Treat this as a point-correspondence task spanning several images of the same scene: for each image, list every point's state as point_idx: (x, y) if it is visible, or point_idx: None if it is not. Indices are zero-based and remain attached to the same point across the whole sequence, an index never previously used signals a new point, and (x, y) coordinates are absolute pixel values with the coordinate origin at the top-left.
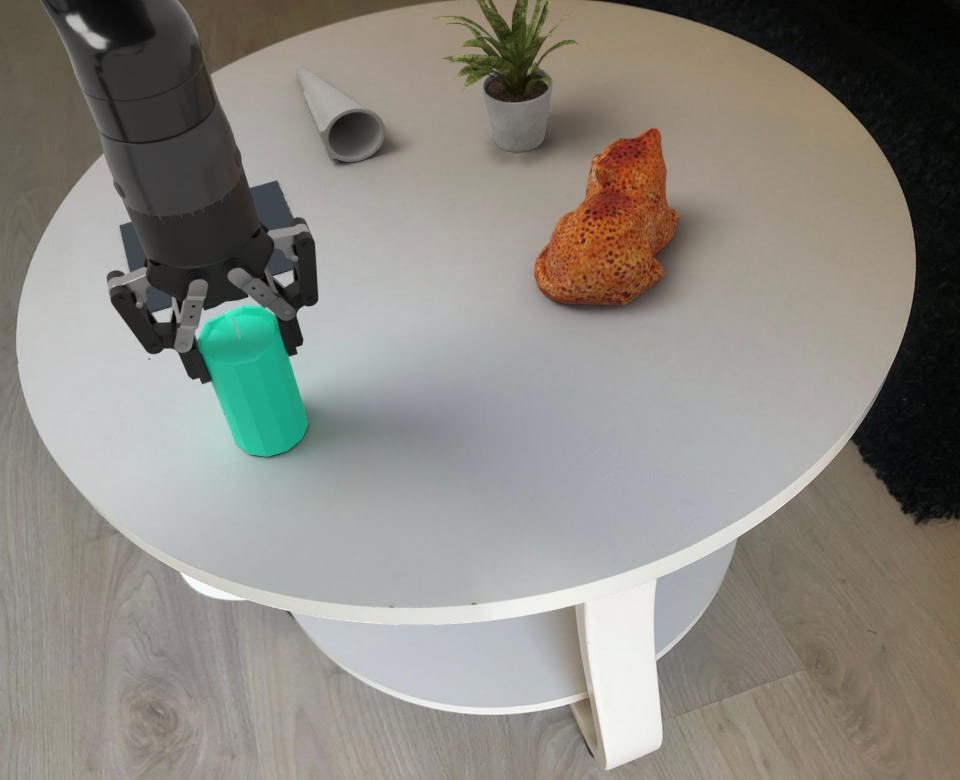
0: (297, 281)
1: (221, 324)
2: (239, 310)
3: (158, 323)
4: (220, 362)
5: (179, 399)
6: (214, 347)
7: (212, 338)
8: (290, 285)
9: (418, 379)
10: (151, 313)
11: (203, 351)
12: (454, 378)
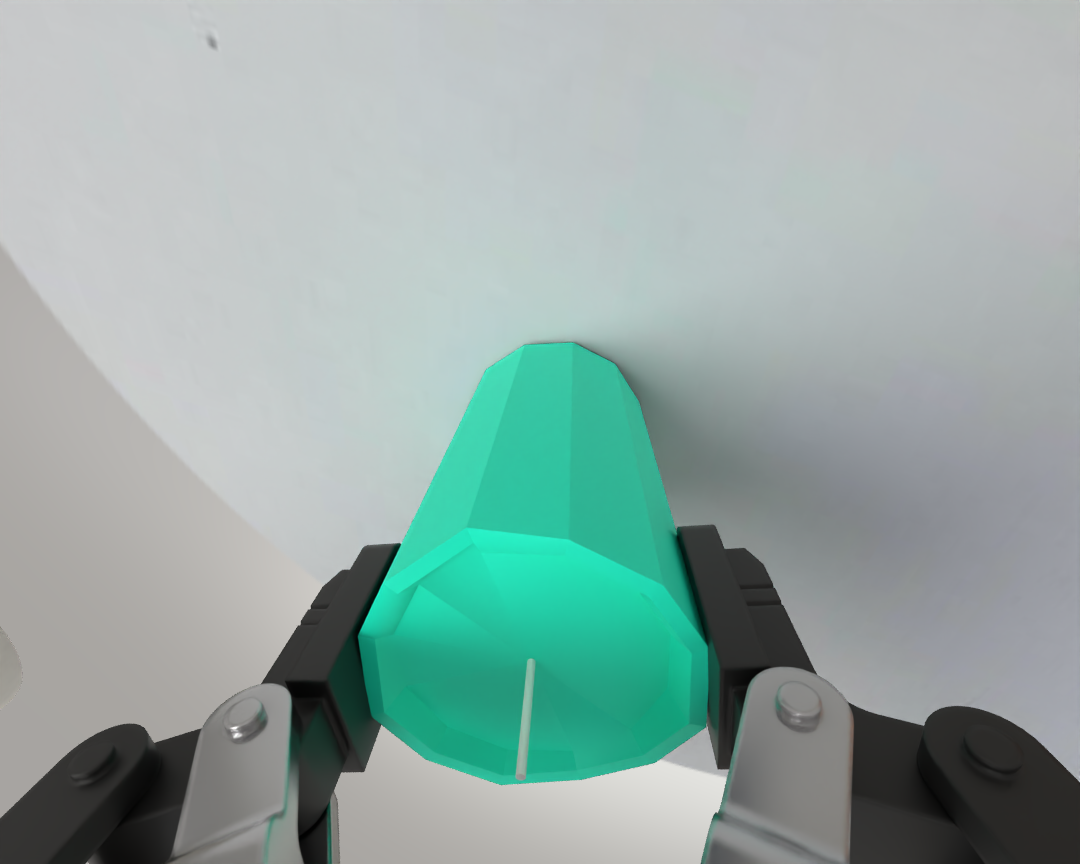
0: (967, 841)
1: (457, 574)
2: (546, 553)
3: (136, 824)
4: (454, 764)
5: (329, 256)
6: (429, 674)
7: (419, 629)
8: (903, 816)
9: (936, 387)
10: (61, 858)
11: (387, 717)
12: (1020, 412)
